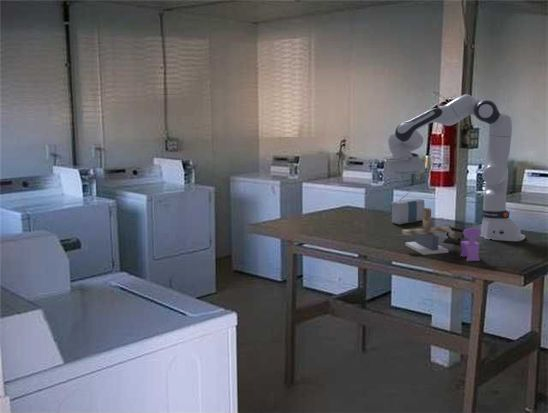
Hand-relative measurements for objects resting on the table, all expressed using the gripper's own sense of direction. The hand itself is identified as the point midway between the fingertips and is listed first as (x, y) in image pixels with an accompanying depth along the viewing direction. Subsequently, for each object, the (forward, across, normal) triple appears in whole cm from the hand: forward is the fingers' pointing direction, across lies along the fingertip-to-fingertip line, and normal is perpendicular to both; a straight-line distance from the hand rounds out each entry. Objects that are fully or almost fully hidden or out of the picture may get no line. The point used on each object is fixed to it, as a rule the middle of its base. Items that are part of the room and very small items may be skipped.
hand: (409, 179), depth 319 cm
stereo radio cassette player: (-6, +17, +50) cm, 53 cm away
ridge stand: (+40, -2, +5) cm, 40 cm away
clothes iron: (+35, +18, +10) cm, 40 cm away
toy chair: (+56, +9, -11) cm, 57 cm away
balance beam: (+34, -2, -1) cm, 34 cm away
